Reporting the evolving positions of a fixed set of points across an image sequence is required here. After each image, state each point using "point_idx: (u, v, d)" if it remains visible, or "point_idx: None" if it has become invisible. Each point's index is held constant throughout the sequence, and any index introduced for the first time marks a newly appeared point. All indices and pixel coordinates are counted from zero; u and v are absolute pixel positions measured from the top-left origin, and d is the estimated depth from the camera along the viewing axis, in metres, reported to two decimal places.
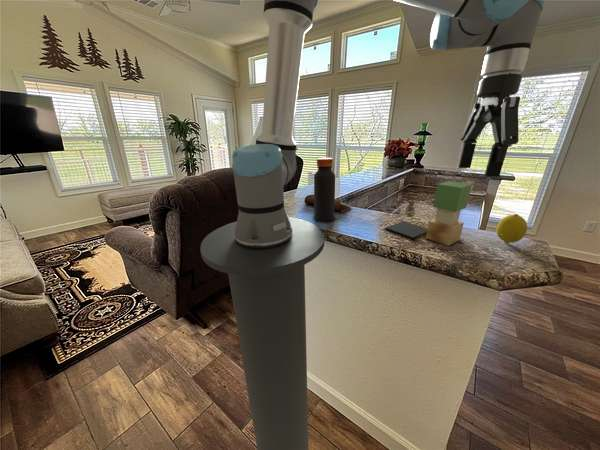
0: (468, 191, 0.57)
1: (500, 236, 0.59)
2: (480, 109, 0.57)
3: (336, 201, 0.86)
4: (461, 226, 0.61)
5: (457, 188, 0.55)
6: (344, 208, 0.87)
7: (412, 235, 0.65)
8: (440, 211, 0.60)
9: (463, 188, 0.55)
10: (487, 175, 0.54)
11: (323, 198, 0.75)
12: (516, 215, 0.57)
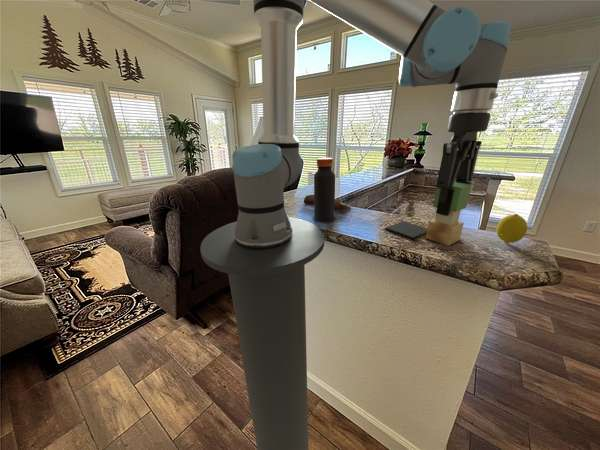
0: (468, 191, 0.57)
1: (500, 236, 0.59)
2: None
3: (336, 201, 0.86)
4: (461, 226, 0.61)
5: (457, 188, 0.55)
6: (343, 208, 0.87)
7: (412, 235, 0.65)
8: None
9: (463, 188, 0.55)
10: (437, 212, 0.60)
11: (323, 198, 0.75)
12: (516, 215, 0.57)
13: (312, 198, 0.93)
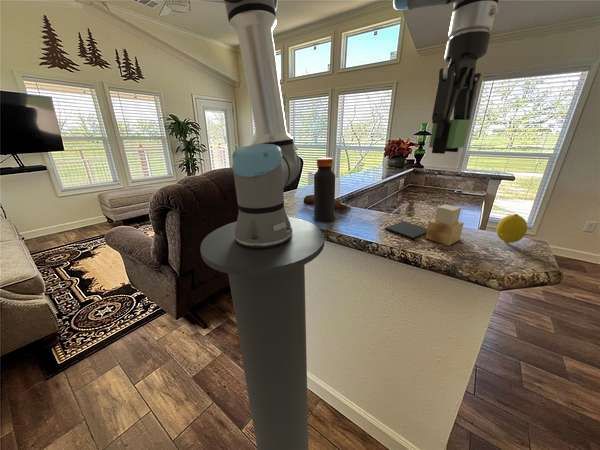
0: (466, 127, 0.54)
1: (500, 236, 0.59)
2: None
3: (336, 201, 0.86)
4: (461, 226, 0.61)
5: (454, 121, 0.52)
6: (343, 208, 0.87)
7: (412, 235, 0.65)
8: (440, 211, 0.60)
9: (461, 121, 0.52)
10: (432, 151, 0.56)
11: (323, 198, 0.75)
12: (516, 215, 0.57)
13: (312, 198, 0.93)
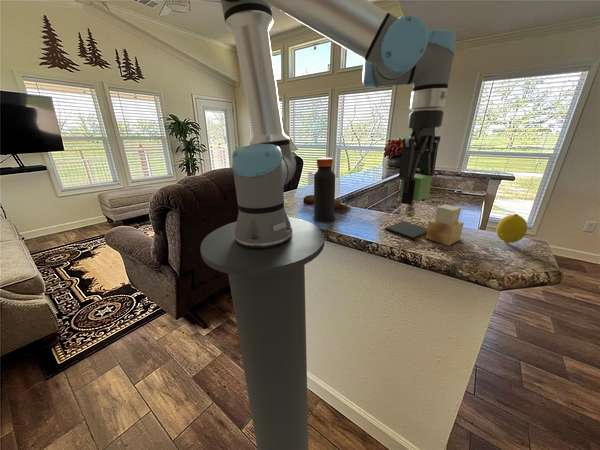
0: (429, 182, 0.63)
1: (500, 236, 0.59)
2: None
3: (336, 201, 0.86)
4: (461, 226, 0.61)
5: (418, 179, 0.61)
6: (343, 208, 0.87)
7: (412, 235, 0.65)
8: (440, 211, 0.60)
9: (423, 179, 0.61)
10: (402, 202, 0.65)
11: (323, 198, 0.75)
12: (516, 215, 0.57)
13: (312, 198, 0.93)
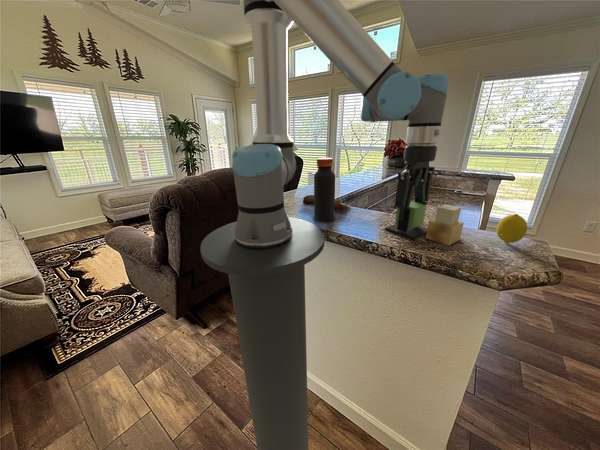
0: (423, 210, 0.66)
1: (500, 236, 0.59)
2: None
3: (336, 201, 0.86)
4: (461, 226, 0.61)
5: (412, 209, 0.64)
6: (343, 208, 0.87)
7: (412, 235, 0.65)
8: (440, 211, 0.60)
9: (418, 208, 0.64)
10: (397, 228, 0.68)
11: (323, 198, 0.75)
12: (516, 215, 0.57)
13: (311, 198, 0.93)
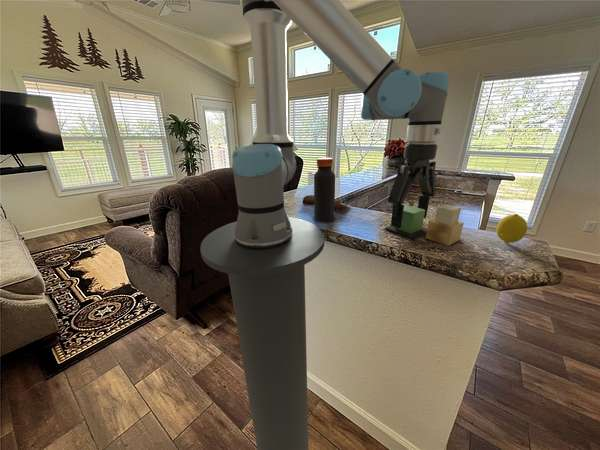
0: (422, 215, 0.66)
1: (500, 236, 0.59)
2: None
3: (335, 201, 0.86)
4: (461, 226, 0.61)
5: (411, 214, 0.64)
6: (343, 209, 0.86)
7: (412, 235, 0.65)
8: (440, 211, 0.60)
9: (416, 214, 0.64)
10: (391, 224, 0.66)
11: (323, 198, 0.75)
12: (516, 215, 0.57)
13: (311, 198, 0.92)
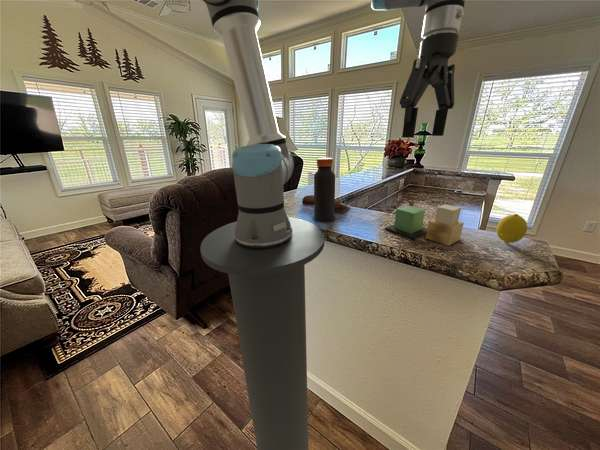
0: (422, 215, 0.66)
1: (500, 236, 0.59)
2: None
3: (335, 201, 0.86)
4: (461, 226, 0.61)
5: (411, 214, 0.64)
6: (343, 209, 0.86)
7: (412, 235, 0.65)
8: (440, 211, 0.60)
9: (416, 214, 0.64)
10: (403, 136, 0.58)
11: (323, 198, 0.75)
12: (516, 215, 0.57)
13: (311, 199, 0.92)
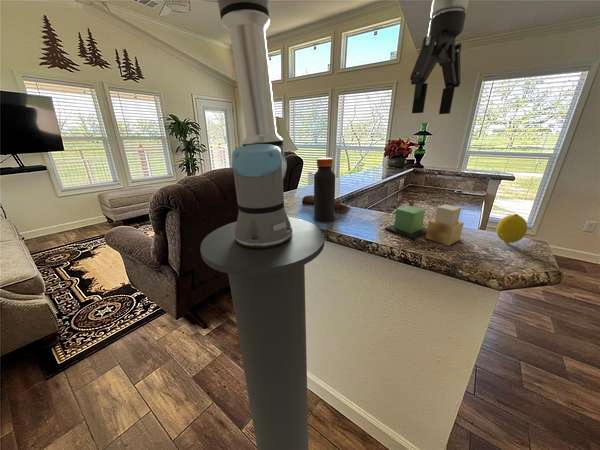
0: (422, 215, 0.66)
1: (500, 236, 0.59)
2: None
3: (335, 201, 0.86)
4: (461, 226, 0.61)
5: (411, 214, 0.64)
6: (343, 209, 0.86)
7: (412, 235, 0.65)
8: (440, 211, 0.60)
9: (416, 214, 0.64)
10: (412, 112, 0.61)
11: (323, 198, 0.75)
12: (516, 215, 0.57)
13: (310, 199, 0.92)
